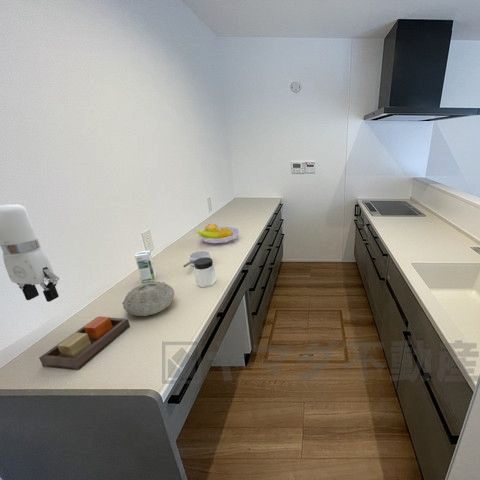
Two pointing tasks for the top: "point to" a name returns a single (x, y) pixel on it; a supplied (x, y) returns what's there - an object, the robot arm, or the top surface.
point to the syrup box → (145, 266)
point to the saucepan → (197, 256)
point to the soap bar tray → (84, 343)
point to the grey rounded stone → (148, 298)
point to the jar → (204, 272)
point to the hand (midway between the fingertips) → (42, 298)
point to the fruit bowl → (217, 234)
